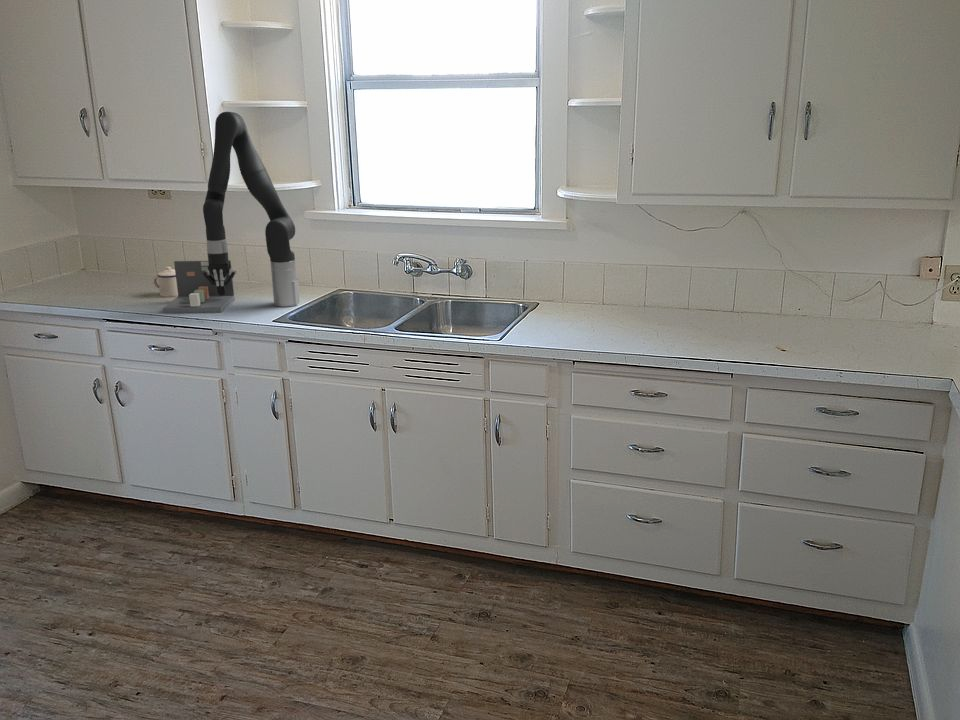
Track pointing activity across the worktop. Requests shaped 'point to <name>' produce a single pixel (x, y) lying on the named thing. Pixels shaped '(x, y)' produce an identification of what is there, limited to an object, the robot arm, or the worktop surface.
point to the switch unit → (191, 280)
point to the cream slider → (194, 299)
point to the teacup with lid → (167, 282)
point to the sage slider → (200, 295)
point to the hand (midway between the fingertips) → (221, 295)
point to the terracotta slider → (205, 291)
